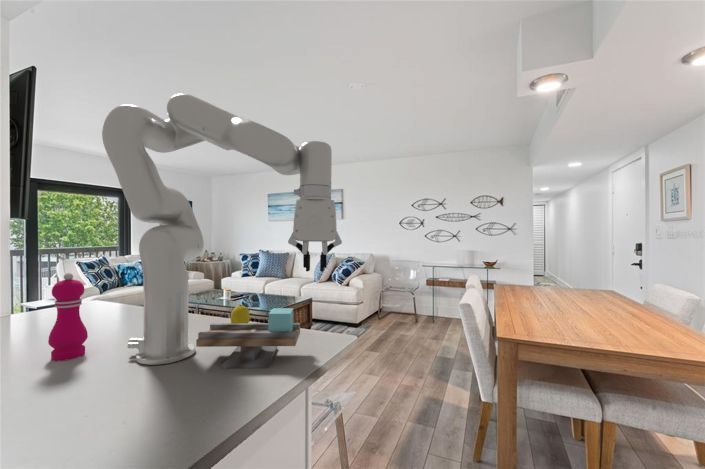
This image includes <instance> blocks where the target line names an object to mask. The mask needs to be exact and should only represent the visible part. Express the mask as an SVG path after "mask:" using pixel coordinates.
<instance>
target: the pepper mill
mask: <svg viewBox="0 0 705 469" xmlns="http://www.w3.org/2000/svg"><path fill="white" fill-rule="evenodd" d="M73 278H74V274H73V273H70V272H67V273H64V275H63V280H60V281H58V282H56V283H55V284H53V287H52V288H51V295H52V297H53V298H54V299H56V301H54V304H55V305H54V308H56V312H57V314H56V320H55V322H54V325H53V326H52V329H51V331H50V333H49V336H48V341H47V342H48V345H49V346H50V347H52V350H51V352H50V359H51V361H54V360H55V362H61V361H62V362H63V361H70V360H74V359H77V358H80V357H82V356H84V355H85V354H86V346H85V344H84V343H85V342H86V341H87V340H88V338H89V336H88V330H87V328H86V326H85V324H84V322H83V321H82V319H81V315H80V314H81V313H80V307H81V305H83V303H82V301H83V299H82V298H81V297H82V296H83V295H84V293H85V290H86V289H85V285H84V283H83V282H82V281H80V280H77V279H73Z"/></svg>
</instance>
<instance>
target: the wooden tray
mask: <svg viewBox="0 0 705 469" xmlns="http://www.w3.org/2000/svg"><path fill="white" fill-rule="evenodd" d="M268 325H269V322H268V323H267V322H266V323H265V322H263V323H260V322H259V323H251V322H249V323H231V322H229V323H227V322H226V323H220V322H219V323H210V324H209V329H208V330H207V331H200V332H198V334H197V336H198V337H197V339H196V341H195V345H196V347H195V348H197V347H198V348H201V347H203V348H204V347H205V348H208V347H209V348H211V347H213V348H215V347H216V348H217V347H218V348H219V347H236V348H235V349H234V350H233V351H232V352H231V353H230V354H229V356H228V357H227V358H226V359H225V360H224V361H223V363H222V364H221V369H268V368H269V366H270V364H271V361H272V360H273V358H274V356H275V354H276V352H277V350H278V347H295V346H297V342H298V339H299V337H300V335H301V325H300V322H297V323H296V322H293V330H292V332H268Z"/></svg>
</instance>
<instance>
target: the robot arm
mask: <svg viewBox="0 0 705 469" xmlns="http://www.w3.org/2000/svg"><path fill="white" fill-rule="evenodd" d="M166 103H167V104H166V113H167V117H168V119H163V118H161V117H160V116H158V114H157V115H156V114H155V113H153V112H151V111H149V110H148V109H147V108H146V109H145V108H143V107H140V106H138V105H134V104H121V105H117V106H116V107H114V108H113V109H112V110H111V111H110V112H108V114H107V116H106V117H105V119H104V122H103V125H102V132H101V133H102V134H101V135H102V136H101V137H102V144H103V147H104V149H105V152H106V154H107V157H108V159H109V161H110V163H111V165H112V167H113V169H114V171H115V172H114V173H115V174H116V177H117V179H118V183H119V184H120V188H121V189H122V192H123V196H124V197H125V200H126V201H127V205H128V207H129V209H130V212H131V214H132V216H134V218H135V219H136V220H137V221H140V222H142V223H143V222H144V223H148V224H149V223H150V224H159V225H156V226H153V227H151V228H149V229H148V230H145V232H144V233H143V234H142V236H141V238H140V239H139V240H140V241H139V243H138V252H139V258H140V263H141V269H142V278H143V279H142V280H143V282H142V283H143V286H142V287H143V337H130V338H129V340H128V343H127V349H137V350H138V351H137V353H136V354H135V361H136V362H137V363H138V364H141V365H148V366H149V365H151V366H152V365H153V366H154V365H155V366H156V365H158V366H159V365H164V364H165V365H166V364H170V363H172V364H173V363H175V362H179V361H182V360H185V359H187V358H190V357H191V356H193V355H194V354H195V352H196V347H195V345H194V344H193V343H190V342H189V277H188V276H189V275H188V271H187V267H186V265H185V262H189V261H192V260H195V259H196V258H198V257H199V256H200V255H201V253H202V251H203V249H204V245H205V244H204V237H203V233H202V231H201V228H200V226H199V223H198V220H197V218H196V216H195V213H194V211H193V208H192V206H191V203H190V201H189V200H188V198H187V197H186V196H185V194H184V193H182V192H181V191H179V190H177V189H174V188H172V187H168V186H166V185H165V184H164V182H163V180H162V178H161V176H160V174H159V171H158V167H157V166H156V164H155V162H154V160H153V159H152V157H151V156H150V154H149V153H148V152H147V150H146V149H148V150H151V151H154V152H156V153H162V154H165V153H166V154H167V153H173V152H175V151H178V150H181V149H182V150H183V149H184V148H188V147H191V146H194V145H197V144H199V143H202V142H205V141H206V142H208V143H210V144H212V145H214V146H216V147H218V148H221V149H223V150H225V151H231V150H232V151H236V152H238V153H241V154H244V155H246V156H248V157H250V158H251V159H254V160H256V161H259V162H261V163H263V164H264V165H266V166H267V167H269V168H271V169H273V170H274V171H276V172H277V173H279V175H283V176H294V175H299V187H298V188H297V189H293V195H294V196H297V197H299V199H298V198H297V199H296V200H295V206H294V214H293V230H292V233H291V235H290V237H289V239H288V241H287V243H288V244H289V245H291V246H293V247H294V248H296V249H297V250H299V252H300V253H302V255H303V257H302V258H303V261H302V262H303V265H302V266H303V267H302V268H305V272H309V271H310V270H311V254H310V251H309V245H310V242H316V243H317V242H319V243H321V248H322V251H321V254H320V255H319V256H320V258H319V260H320V262H319V267H320V268H319V271H320V272H322V273H323V272H324V270H325V269H327V255H328V253H330V251H331V250H333V249H334V248H336V247H338V246H340V245H342V243H343V242H342V239H341V236H340V234H339V233H338V231H337V229H338V228H337V211H336V202H335V200H334V199H332V166H333V165H332V159H333V157H332V156H333V154H332V147H331V145H330V144H329V143H327V142H325V141H320V140H310V141H309V140H308V141H305V142H304V143H301V145H300V146H299V145H298V146H297V145H295V144H294V143H293V141H292V140H291V139H290V138H288V137H287V136H285V134H282V133H280V132H278V131H276V130H273V129H271V128H270V127H268V126H265V125H264V124H263V125H262V124H260V123H258V122H255V121H254V120H251V119H247V118H244V117H241V116H238V115H236V114H233V113H231V112H229V111H226V110H224V109H223V108H220V107H218V106H216V105H214V104H212V103H209V102H208V101H205V100H203V99H201V98H199V97H196V96H194V95H191V94H189V93H187V94H186V93H177V94H174V95H172V96H171V97H170V99H169V100H168V102H166ZM301 242H302V243H301ZM328 242H330V243H329V244H328Z"/></svg>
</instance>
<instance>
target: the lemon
mask: <svg viewBox="0 0 705 469" xmlns="http://www.w3.org/2000/svg"><path fill="white" fill-rule="evenodd" d="M250 317H251V316H250V310H249V309H248V308H247V307H246V306H245V305H242V304H241V303H240V304H239V305H237V306H235V307H234V308H233V309H232V310H231V313H230V323H250V321H251V320H250V319H251V318H250Z"/></svg>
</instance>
